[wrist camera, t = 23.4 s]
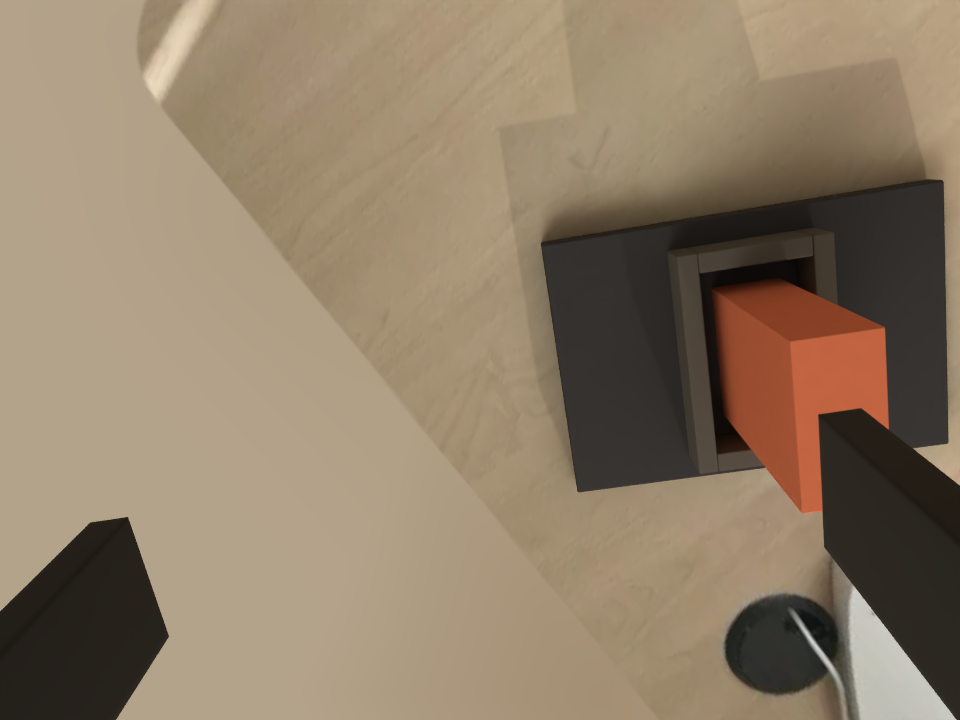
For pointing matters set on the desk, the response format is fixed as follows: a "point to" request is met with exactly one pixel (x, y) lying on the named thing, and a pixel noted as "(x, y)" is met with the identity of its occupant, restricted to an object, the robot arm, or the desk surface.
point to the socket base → (691, 325)
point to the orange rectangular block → (794, 375)
